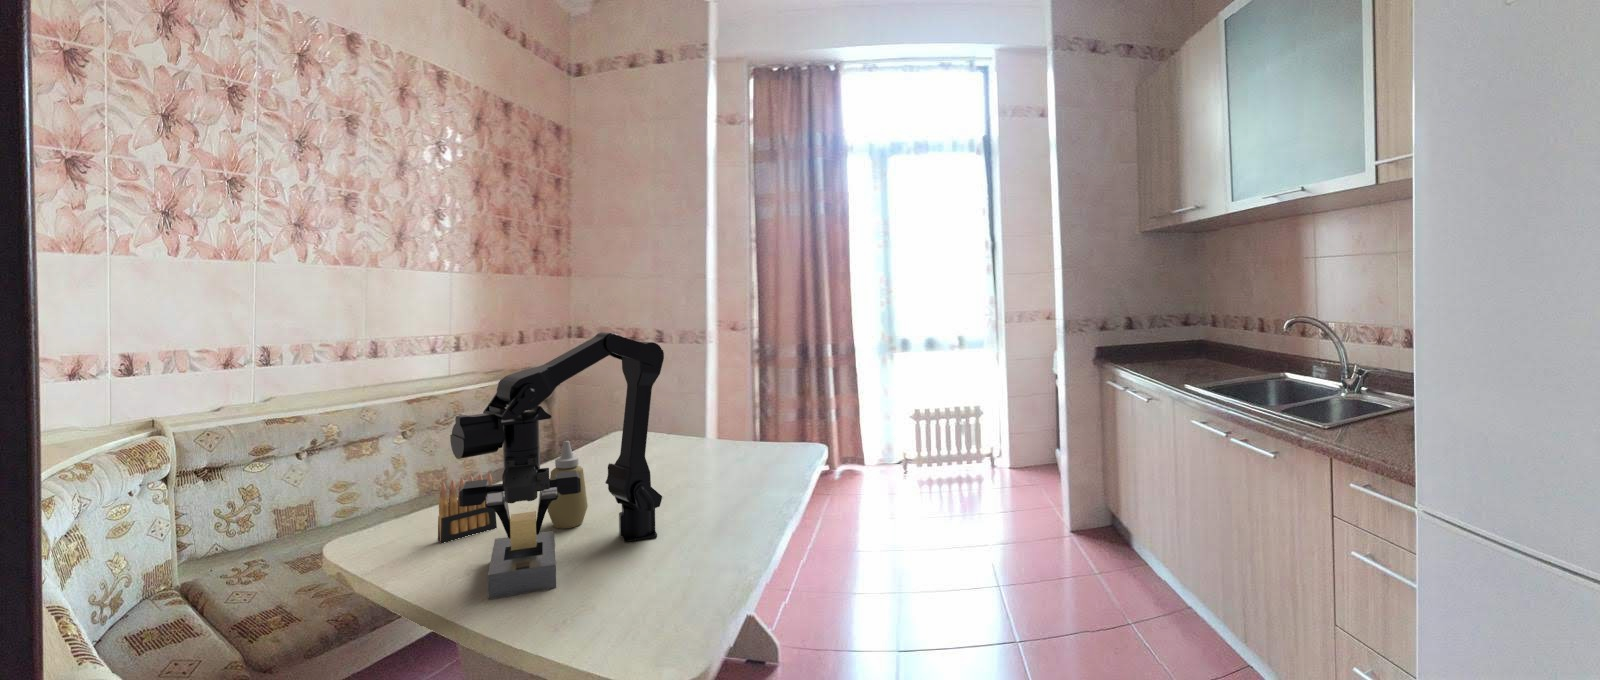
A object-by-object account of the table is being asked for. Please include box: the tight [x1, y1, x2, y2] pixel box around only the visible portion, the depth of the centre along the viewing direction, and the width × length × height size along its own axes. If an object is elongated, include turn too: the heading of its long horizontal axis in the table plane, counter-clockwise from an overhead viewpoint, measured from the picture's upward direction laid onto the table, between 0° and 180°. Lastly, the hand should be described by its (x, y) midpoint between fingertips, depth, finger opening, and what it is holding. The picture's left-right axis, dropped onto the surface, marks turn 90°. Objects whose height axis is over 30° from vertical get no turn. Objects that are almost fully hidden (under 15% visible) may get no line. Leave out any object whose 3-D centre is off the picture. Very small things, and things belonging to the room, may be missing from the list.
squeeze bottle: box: [547, 440, 589, 529], centre depth 126 cm, size 8×8×18 cm
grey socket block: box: [487, 530, 557, 601], centre depth 104 cm, size 10×16×4 cm, turn 24°
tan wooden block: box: [510, 510, 537, 551], centre depth 103 cm, size 4×4×5 cm
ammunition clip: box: [437, 472, 498, 544], centre depth 121 cm, size 11×2×12 cm, turn 141°
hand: (523, 535), depth 103 cm, fingers closed on tan wooden block, 4 cm apart
